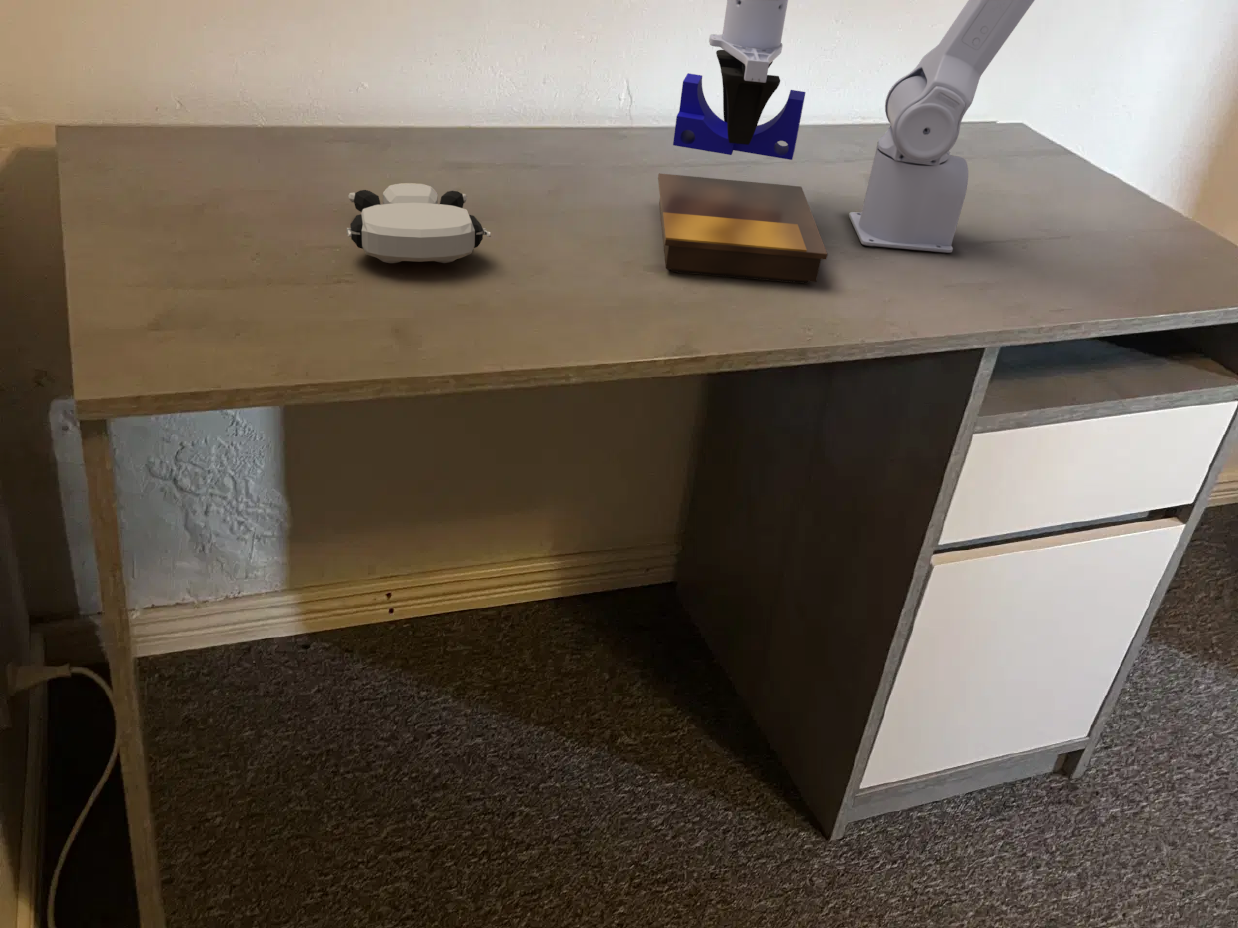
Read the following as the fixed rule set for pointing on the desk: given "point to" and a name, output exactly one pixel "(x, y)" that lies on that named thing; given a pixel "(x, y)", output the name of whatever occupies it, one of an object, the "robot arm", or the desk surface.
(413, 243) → the robot toy
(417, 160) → the desk surface
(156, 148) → the desk surface
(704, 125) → the cable clip
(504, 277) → the desk surface
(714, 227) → the walnut stand
